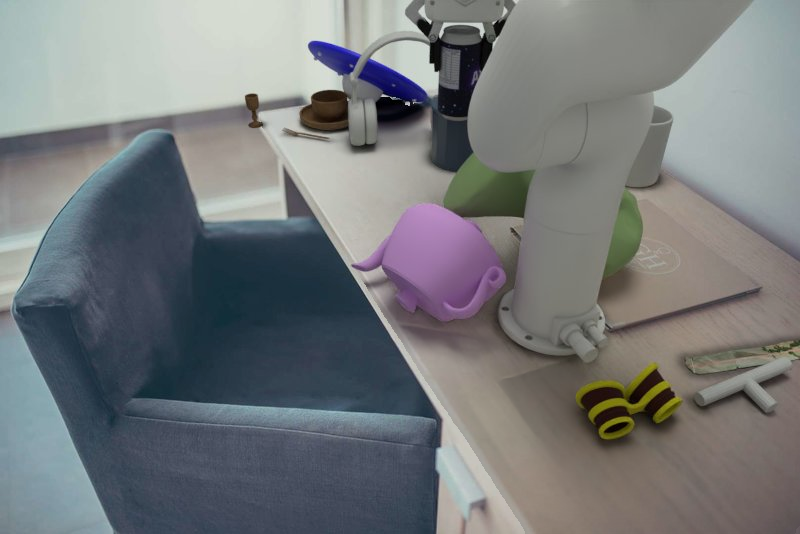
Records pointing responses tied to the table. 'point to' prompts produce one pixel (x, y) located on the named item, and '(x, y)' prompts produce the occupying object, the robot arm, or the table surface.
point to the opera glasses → (613, 409)
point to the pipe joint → (747, 385)
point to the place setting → (313, 111)
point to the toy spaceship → (366, 74)
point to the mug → (651, 150)
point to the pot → (449, 142)
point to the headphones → (365, 110)
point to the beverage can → (458, 70)
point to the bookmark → (743, 357)
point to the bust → (507, 195)
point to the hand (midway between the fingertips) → (459, 67)
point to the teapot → (438, 263)
